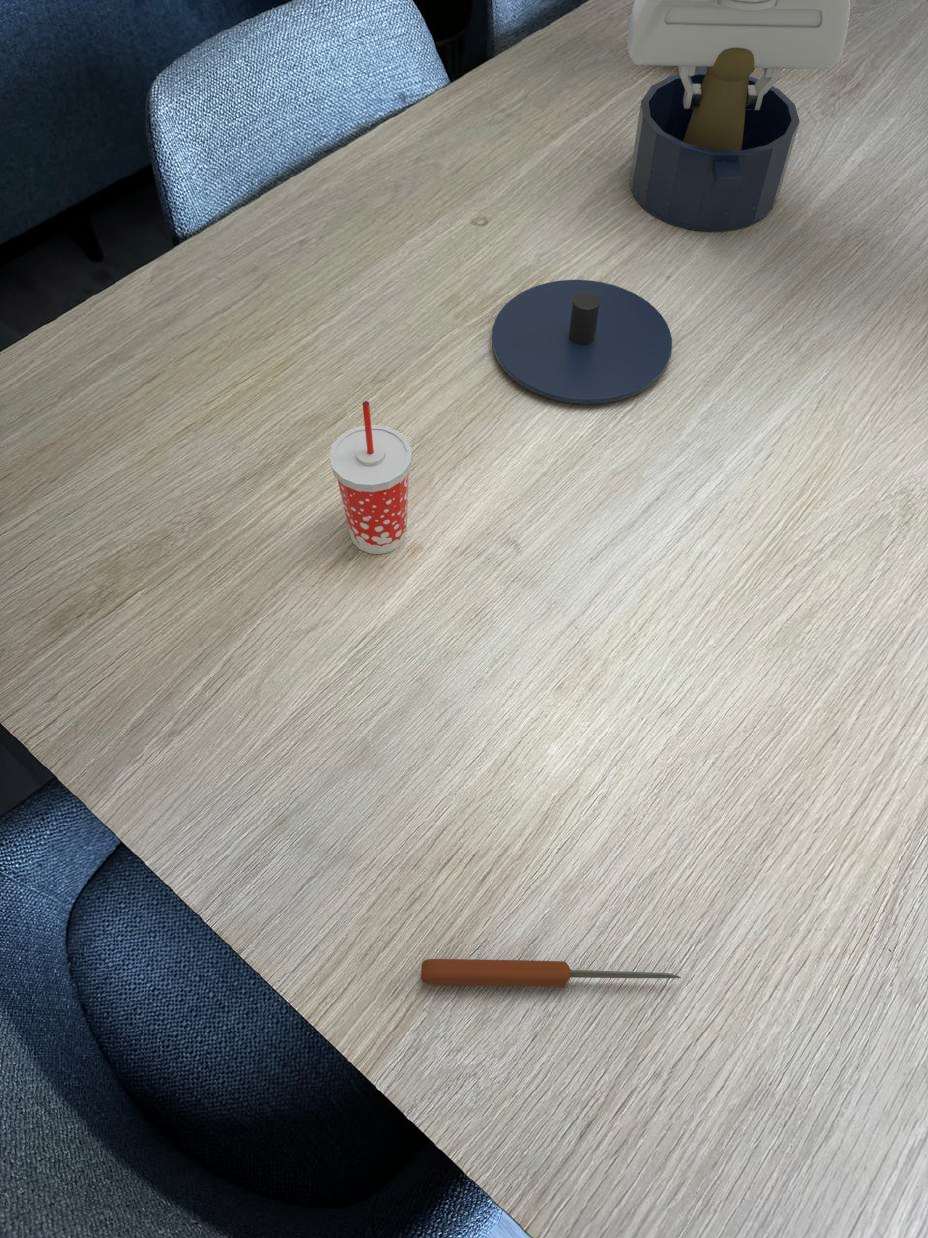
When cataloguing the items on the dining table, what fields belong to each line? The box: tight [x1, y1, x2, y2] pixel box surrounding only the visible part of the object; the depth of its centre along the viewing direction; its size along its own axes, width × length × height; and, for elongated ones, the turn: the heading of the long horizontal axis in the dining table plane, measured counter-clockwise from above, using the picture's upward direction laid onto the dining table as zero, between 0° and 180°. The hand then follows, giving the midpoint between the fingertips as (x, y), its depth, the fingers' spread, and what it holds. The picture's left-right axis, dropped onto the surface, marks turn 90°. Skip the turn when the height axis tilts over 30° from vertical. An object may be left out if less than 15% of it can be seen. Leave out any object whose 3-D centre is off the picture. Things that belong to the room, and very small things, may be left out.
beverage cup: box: [328, 400, 413, 555], centre depth 78 cm, size 6×6×14 cm
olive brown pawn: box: [683, 48, 756, 150], centre depth 103 cm, size 6×6×11 cm
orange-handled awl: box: [420, 958, 682, 989], centre depth 63 cm, size 16×1×2 cm, turn 89°
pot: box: [629, 66, 801, 233], centre depth 108 cm, size 16×21×8 cm
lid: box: [491, 279, 673, 405], centre depth 94 cm, size 17×17×5 cm
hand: (720, 106), depth 104 cm, fingers closed on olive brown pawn, 4 cm apart
